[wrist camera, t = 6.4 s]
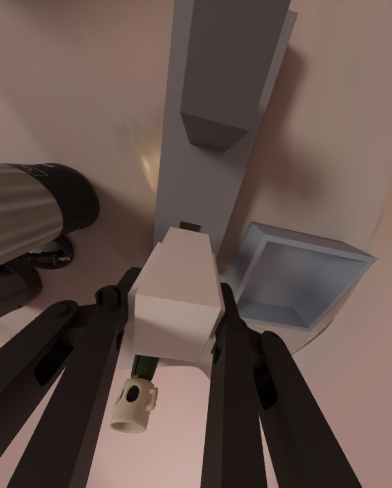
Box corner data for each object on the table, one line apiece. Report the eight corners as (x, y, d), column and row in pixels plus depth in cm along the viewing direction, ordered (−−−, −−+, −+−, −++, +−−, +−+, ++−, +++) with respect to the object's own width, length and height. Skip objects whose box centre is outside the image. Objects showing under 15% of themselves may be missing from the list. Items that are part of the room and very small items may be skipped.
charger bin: (293, 308, 30) (310, 331, 26) (221, 295, 29) (225, 317, 25) (343, 242, 23) (377, 258, 19) (250, 221, 22) (264, 233, 18)
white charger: (198, 263, 19) (197, 362, 9) (167, 257, 18) (133, 354, 9) (207, 227, 17) (221, 308, 7) (173, 220, 16) (135, 294, 6)
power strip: (209, 268, 26) (210, 280, 23) (154, 258, 25) (149, 269, 22) (282, 39, 14) (304, 3, 11) (181, 5, 13) (176, -44, 10)
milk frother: (87, 161, 19) (-172, 134, 6) (120, 261, 26) (38, 354, 13) (-14, 166, 20) (-469, 153, 6) (45, 263, 26) (-110, 354, 13)
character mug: (158, 338, 36) (139, 417, 24) (173, 353, 39) (161, 430, 27) (124, 348, 38) (92, 425, 27) (140, 361, 41) (117, 436, 30)
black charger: (221, 154, 18) (250, 131, 8) (190, 146, 18) (179, 111, 8) (235, 101, 16) (296, -19, 6) (199, 91, 15) (200, -54, 6)
